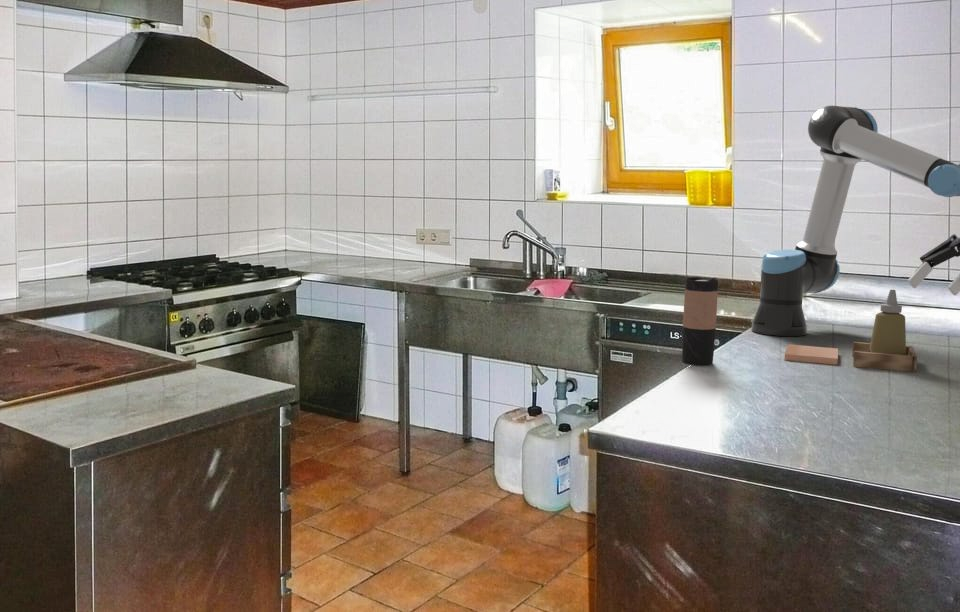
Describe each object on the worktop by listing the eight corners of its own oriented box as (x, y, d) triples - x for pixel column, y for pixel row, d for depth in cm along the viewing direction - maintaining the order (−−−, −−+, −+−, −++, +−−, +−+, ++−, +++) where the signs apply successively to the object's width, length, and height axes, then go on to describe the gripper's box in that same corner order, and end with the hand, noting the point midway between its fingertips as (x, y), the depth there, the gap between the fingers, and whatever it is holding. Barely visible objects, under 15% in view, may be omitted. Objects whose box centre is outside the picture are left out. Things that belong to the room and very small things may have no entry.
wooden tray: (853, 366, 213) (854, 351, 212) (852, 355, 226) (853, 341, 226) (916, 371, 208) (917, 357, 207) (911, 360, 221) (912, 346, 221)
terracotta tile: (784, 360, 219) (784, 354, 219) (787, 350, 232) (788, 344, 231) (837, 364, 214) (837, 358, 214) (837, 354, 227) (838, 348, 227)
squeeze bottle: (873, 358, 222) (879, 286, 220) (908, 363, 217) (915, 290, 215) (863, 363, 216) (869, 289, 214) (899, 368, 211) (906, 293, 209)
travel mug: (690, 366, 209) (695, 281, 206) (675, 360, 216) (679, 277, 214) (720, 365, 211) (725, 281, 208) (703, 358, 218) (708, 277, 216)
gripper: (1040, 240, 207) (978, 305, 205) (959, 233, 231) (903, 291, 229) (1023, 217, 205) (961, 283, 203) (943, 212, 229) (887, 271, 227)
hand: (930, 287), depth 216 cm, fingers open, 13 cm apart
